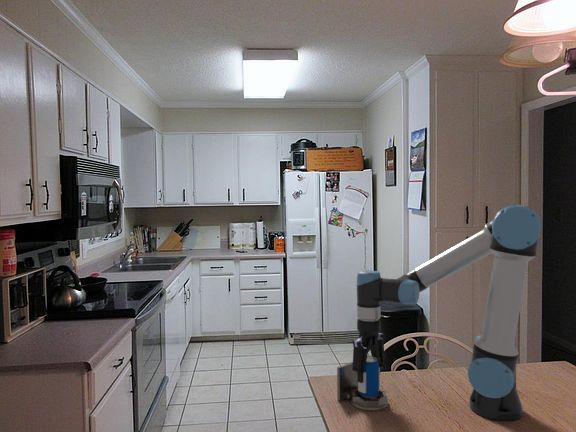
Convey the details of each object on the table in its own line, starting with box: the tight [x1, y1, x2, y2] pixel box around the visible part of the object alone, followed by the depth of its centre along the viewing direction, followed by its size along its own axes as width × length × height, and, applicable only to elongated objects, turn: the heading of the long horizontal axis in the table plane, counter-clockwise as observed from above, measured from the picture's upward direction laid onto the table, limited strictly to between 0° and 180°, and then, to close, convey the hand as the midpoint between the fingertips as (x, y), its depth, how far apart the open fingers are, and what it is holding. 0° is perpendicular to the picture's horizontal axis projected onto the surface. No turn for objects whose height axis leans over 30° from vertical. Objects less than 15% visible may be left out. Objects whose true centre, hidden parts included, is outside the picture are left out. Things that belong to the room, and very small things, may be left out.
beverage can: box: [359, 355, 380, 398], centre depth 148 cm, size 6×6×12 cm
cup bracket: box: [336, 361, 389, 412], centre depth 148 cm, size 14×12×11 cm
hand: (369, 388), depth 148 cm, fingers closed on beverage can, 6 cm apart
